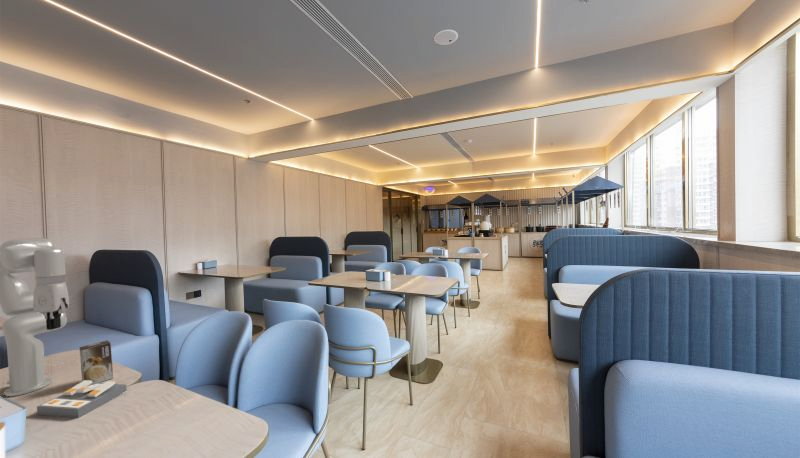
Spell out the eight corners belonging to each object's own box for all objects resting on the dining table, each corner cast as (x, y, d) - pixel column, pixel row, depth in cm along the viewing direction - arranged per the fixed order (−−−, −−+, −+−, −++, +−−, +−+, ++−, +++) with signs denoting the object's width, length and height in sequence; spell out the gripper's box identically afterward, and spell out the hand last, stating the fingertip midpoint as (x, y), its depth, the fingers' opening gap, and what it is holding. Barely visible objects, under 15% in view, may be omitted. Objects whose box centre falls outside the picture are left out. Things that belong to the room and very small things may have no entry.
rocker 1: (63, 394, 113) (63, 392, 113) (85, 382, 120) (84, 380, 120) (71, 395, 113) (70, 392, 112) (92, 382, 119) (91, 380, 119)
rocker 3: (87, 396, 112) (87, 394, 111) (108, 383, 118) (107, 380, 118) (95, 397, 111) (94, 394, 111) (115, 383, 118) (114, 381, 117)
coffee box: (110, 374, 136) (108, 339, 135) (113, 378, 132) (111, 342, 131) (81, 383, 128) (79, 346, 128) (83, 388, 124) (81, 350, 124)
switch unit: (37, 414, 107) (36, 404, 107) (89, 389, 123) (89, 380, 123) (78, 417, 104) (78, 407, 104) (126, 391, 120) (126, 382, 120)
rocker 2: (75, 392, 112) (76, 389, 112) (96, 386, 119) (97, 383, 119) (83, 392, 112) (83, 389, 112) (104, 386, 119) (104, 383, 119)
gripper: (21, 282, 110) (24, 331, 110) (54, 282, 108) (57, 332, 108) (48, 278, 117) (50, 324, 118) (79, 278, 115) (82, 325, 116)
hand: (53, 328), depth 113 cm, fingers closed
